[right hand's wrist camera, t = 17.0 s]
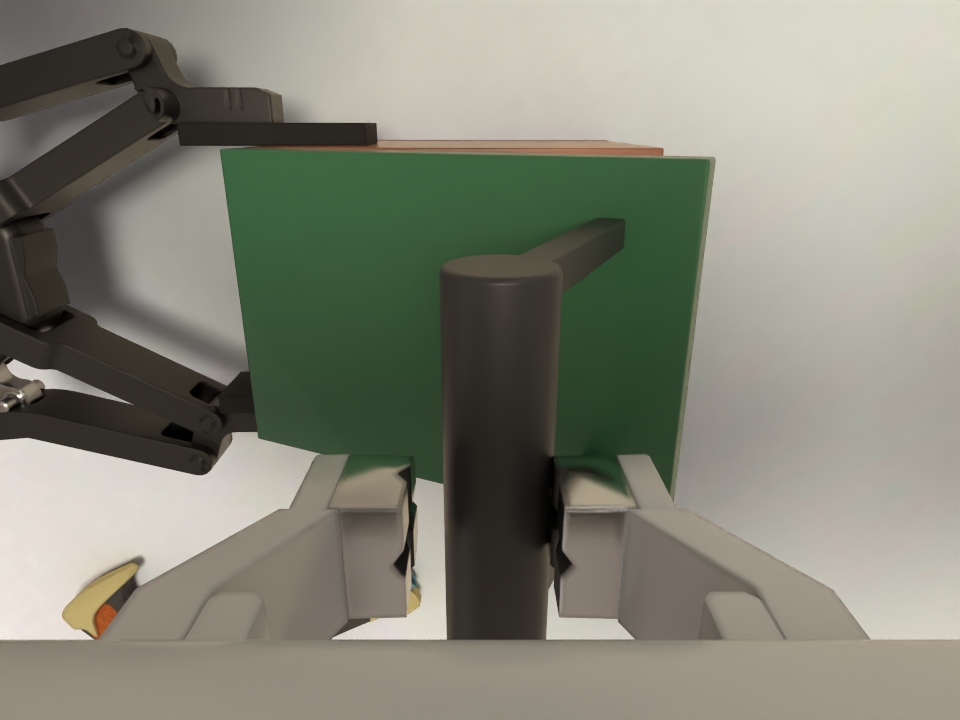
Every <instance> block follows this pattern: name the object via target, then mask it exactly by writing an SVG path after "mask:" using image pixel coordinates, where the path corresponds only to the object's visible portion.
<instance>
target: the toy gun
mask: <svg viewBox="0 0 960 720" xmlns="http://www.w3.org/2000/svg"><path fill="white" fill-rule="evenodd" d="M138 567H139V566H138V565H136V564H134V563H130V564H127V565H125V566H122V567H120V568H118V569H116V570H114V571H112V572H110V573H107V574H105V575H103V576H101V577H100V578H98V579H96V580H95V581H93V582H92V583H91V584H89V585H88V586H87V587H86V588H85V589H84V590H82V591H81V592H80V593H79V594H78V595H77V596H76V597H75V598H74V599H73V600H72V601H71V602H70V603H69V604H68V605H67V606H66V607H65V609H64V611H63V613H62V617H63V619H64V620H65V621H66V622H67V623H68V624H69V625H70V626H71V627H72V628H73V629H75V630H76V629H81V630H82V631H84V632H85V633H86V634H88V635H89V636H90V637H92V638H93V639H95V640H98V639H99V637H100V636H101V635H102V633H103V632H104V631H105V629H106V628H107V627H108V625H109V624H110V623H111V621H112V620H113V619H114V617H115V616H116V615H117V613H118V612H119V611H120V609H121V608H122V607H123V605H124V604H125V603H126V601H127V600H128V599H129V597H130V596H131V595H132V593H133V591H132V589H131V585H130V581H131V577H132V576H133V575H134V574H135V573H136V572H137V571H138ZM416 587H417V582H416V579H415V576H414V575H413V573H412V572H411V592H410V598H409V604H408V611H407V614H409V613H410V612H412V611H413V610H415V609H416V608H418V607H419V606H420V601H421V594H420V592H419V590H418V589H417V588H416ZM376 619H378V618H360V619H347V620H348V622H347V623H346V624H345V625H344V626H343V627H342V628H341V629H340V630H339V632H338V633H337V634H336V635H335V636H337V635H339V634H341V633H343V632H346V631H348V630H350V629H353V628H355V627H358V626H360V625H362V624H365V623H367V622H371V621H374V620H376ZM335 636H334V637H335Z"/></svg>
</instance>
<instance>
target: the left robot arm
mask: <svg viewBox="0 0 960 720" xmlns="http://www.w3.org/2000/svg"><path fill="white" fill-rule="evenodd" d="M176 62H177V54H176V50H175V49H174V47H173V45H172V44H171V43H170V42H169V41H167V40H166V39H163V38H160V37H157V36H154V35H150V34H146V33H143V32H139V31H135V30H132V29H128V28H120V29H117V30H113V31H110V32H107V33H104V34H100V35H97V36H94V37H91V38H87V39H84V40H81V41H78V42H74V43H71V44H68V45H65V46H61V47H58V48H55V49H52V50H48V51H45V52H42V53H39V54H35V55H32V56H29V57H26V58H22V59H19V60H16V61H13V62H9V63H6V64H3V65H0V121H5V120H10V119H14V118H17V117H21V116H24V115H27V114H31V113H34V112H37V111H41V110H44V109H47V108H51V107H54V106H57V105H61V104H64V103H67V102H71V101H74V100H77V99H81V98H84V97H87V96H90V95H94V94H97V93H100V92H104V91H107V90H110V89H114V88H117V87H120V86H124V85H127V84H130V83H134V85H135V90H136V91H138V94H136V95H135V96H133V97H132V98H130V99H129V100H127V101H126V102H124V103H123V104H121V105H120V106H118V107H116V108H115V109H113V110H112V111H110V112H109V113H107V114H106V115H104V116H103V117H101V118H100V119H98V120H96V121H95V122H93V123H92V124H90V125H89V126H87V127H86V128H84V129H83V130H81V131H80V132H78V133H77V134H75V135H73V136H72V137H70V138H69V139H67V140H66V141H64V142H63V143H61V144H60V145H58V146H57V147H55V148H53V149H52V150H50V151H49V152H47V153H46V154H44V155H43V156H41V157H40V158H38V159H37V160H35V161H34V162H32V163H30V164H29V165H27V166H26V167H24V168H23V169H21V170H20V171H18V172H17V173H15V174H14V175H12V176H10V177H9V178H6V179H4V180H1V181H0V440H6V439H18V438H32V439H37V440H41V441H46V442H50V443H55V444H59V445H64V446H68V447H73V448H77V449H82V450H86V451H91V452H95V453H100V454H104V455H109V456H113V457H118V458H122V459H127V460H131V461H136V462H140V463H145V464H149V465H154V466H158V467H163V468H167V469H172V470H176V471H181V472H185V473H190V474H194V475H204V474H207V473H208V472H209V471H210V470H211V469H212V468H213V466H214V465H215V464H216V462H217V461H218V460H219V458H220V457H221V456H222V455H223V453H224V452H225V451H226V449H227V448H228V447H229V445H230V444H231V442H232V434H231V433H232V432H257V424H256V417H255V409H254V402H253V394H252V386H251V379H250V372H240V374H239V375H238V376H237V377H236V378H235V379H234V380H233V381H232V382H231V383H230V384H229V385H228V386H225V385H223V384H221V383H219V382H217V381H215V380H212V379H210V378H208V377H206V376H204V375H202V374H200V373H198V372H195V371H193V370H191V369H189V368H187V367H185V366H183V365H180V364H178V363H176V362H174V361H172V360H170V359H168V358H165V357H163V356H161V355H159V354H157V353H155V352H153V351H151V350H148V349H146V348H144V347H142V346H140V345H138V344H136V343H133V342H131V341H129V340H127V339H125V338H123V337H121V336H118V335H116V334H114V333H112V332H110V331H108V330H106V329H104V328H101V327H100V326H98V325H97V321H96V320H95V319H94V318H93V317H91V316H89V315H87V314H85V313H83V312H81V311H79V310H77V309H75V308H72V307H70V306H68V305H66V304H69V303H70V301H69V296H68V292H67V288H66V284H65V282H64V280H63V278H62V276H61V274H60V272H59V270H58V268H57V244H56V239H55V235H54V230H53V228H46V227H45V225H44V223H43V221H45V220H46V219H48V218H49V217H51V216H52V215H54V214H56V213H57V212H59V211H60V210H62V209H64V208H65V207H67V206H68V205H70V204H71V201H72V200H73V199H74V198H76V197H78V196H79V195H81V194H82V193H84V192H85V191H87V190H89V189H90V188H92V187H93V186H95V185H97V184H98V183H100V182H101V181H103V180H104V179H106V178H108V177H109V176H111V175H112V174H114V173H116V172H117V171H119V170H120V169H122V168H123V167H125V166H127V165H128V164H130V163H131V162H133V161H135V160H136V159H138V158H139V157H141V156H142V155H144V154H146V153H147V152H149V151H150V150H152V149H154V148H155V147H157V146H158V145H160V144H162V143H163V142H165V141H166V140H168V139H169V138H171V137H173V136H174V135H176V134H177V133H178V135H179V142H180V146H265V145H371V144H376V143H377V127H376V123H284V117H283V107H282V97H281V95H279V94H276V93H274V92H272V91H269V90H266V89H260V88H218V87H193V86H192V85H190V84H189V83H188V82H187V81H186V80H185V79H184V77H183V75H182V74H181V72H180V69H179V67H178V65H177V63H176ZM13 359H15V360H18V361H20V362H22V363H24V364H27V365H29V366H31V367H34V368H37V369H55V370H58V371H60V372H63V373H65V374H67V375H69V376H71V377H74V378H76V379H78V380H80V381H83V382H85V383H87V384H89V385H91V386H94V387H96V388H98V389H100V390H102V391H105V392H107V393H109V394H111V395H114V396H116V397H118V398H120V399H122V400H125V401H127V402H129V403H131V404H127V403H123V402H119V401H114V400H110V399H106V398H101V397H97V396H93V395H88V394H84V393H80V392H75V391H69V390H62V389H45V385H44V383H43V382H42V381H40V380H33V381H30V380H27V379H21V378H18V377H16V376H14V375H13V374H12V373H11V372H10V371H9V370H8V368H7V364H8V363H10V362H11V361H12V360H13ZM132 404H134V405H132Z"/></svg>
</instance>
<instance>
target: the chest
mask: <svg viewBox="0 0 960 720" xmlns="http://www.w3.org/2000/svg"><path fill="white" fill-rule="evenodd" d="M245 148H283V149H334V150H385V151H436V152H487V153H538V154H589V155H640V156H663V151H664V150H663V148H658V147H650V146H642V145H634V144H626V143H618V142H610V141H605V140H377V143H376V144H371V145H265V146H255V147H245Z"/></svg>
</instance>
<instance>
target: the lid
mask: <svg viewBox="0 0 960 720" xmlns="http://www.w3.org/2000/svg"><path fill="white" fill-rule="evenodd" d="M220 153H221V160H222V168H223V176H224V183H225V191H226V198H227V206H228V213H229V221H230V228H231V236H232V243H233V251H234V258H235V266H236V273H237V281H238V289H239V296H240V304H241V311H242V319H243V326H244V334H245V341H246V349H247V356H248V364H249V371H250V379H251V386H252V394H253V402H254V409H255V417H256V424H257V432H258V438H259V439H263V440H267V441H272V442H276V443H280V444H284V445H288V446H292V447H296V448H300V449H304V450H308V451H312V452H316V453H320V454H324V455H325V454H349V455H402V456H414V461H415V474H416V477H417V478H421V479H425V480H429V481H433V482H437V483H441V484H444V523H445V570H446V617H447V640H546V627H547V606H548V590H549V588H550V586H551V584H552V582H553V580H554V568H553V567H552V566H551V564H550V558H549V549H548V530H549V512H550V508H551V505H552V495H551V489H550V483H551V462H552V456H568V455H610V454H616V455H628V454H646V455H648V456H650V458H651V460H652V462H653V464H654V466H655V468H656V470H657V472H658V474H659V475H660V477H661V479H662V481H663V483H664V485H665V487H666V489H667V491H668V493H669V495H670V496H671V498H672V500H673V502H674V494H675V486H676V478H677V469H678V461H679V453H680V445H681V437H682V429H683V421H684V413H685V404H686V396H687V388H688V380H689V372H690V364H691V356H692V348H693V339H694V331H695V323H696V315H697V307H698V299H699V291H700V283H701V275H702V266H703V258H704V250H705V242H706V234H707V226H708V218H709V210H710V201H711V193H712V185H713V177H714V169H715V161H716V160H715V158H714V157H691V156H640V155H589V154H538V153H487V152H436V151H385V150H334V149H283V148H232V149H221V150H220Z"/></svg>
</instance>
